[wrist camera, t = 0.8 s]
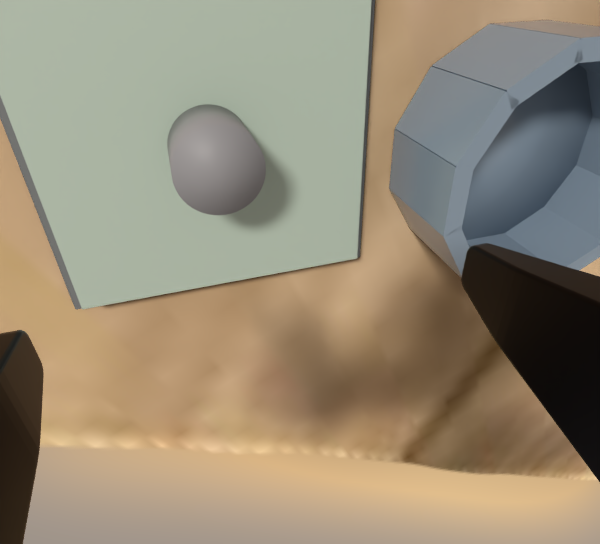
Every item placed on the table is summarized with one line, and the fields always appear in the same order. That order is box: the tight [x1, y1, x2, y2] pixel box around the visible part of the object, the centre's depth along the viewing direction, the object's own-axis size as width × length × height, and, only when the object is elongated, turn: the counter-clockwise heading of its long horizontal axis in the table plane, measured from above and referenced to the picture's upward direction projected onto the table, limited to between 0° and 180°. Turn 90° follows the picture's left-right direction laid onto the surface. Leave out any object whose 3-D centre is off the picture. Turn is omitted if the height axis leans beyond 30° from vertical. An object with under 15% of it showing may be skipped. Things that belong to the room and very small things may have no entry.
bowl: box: [389, 20, 600, 277], centre depth 21 cm, size 11×11×5 cm
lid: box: [0, 0, 371, 309], centre depth 17 cm, size 13×13×4 cm
